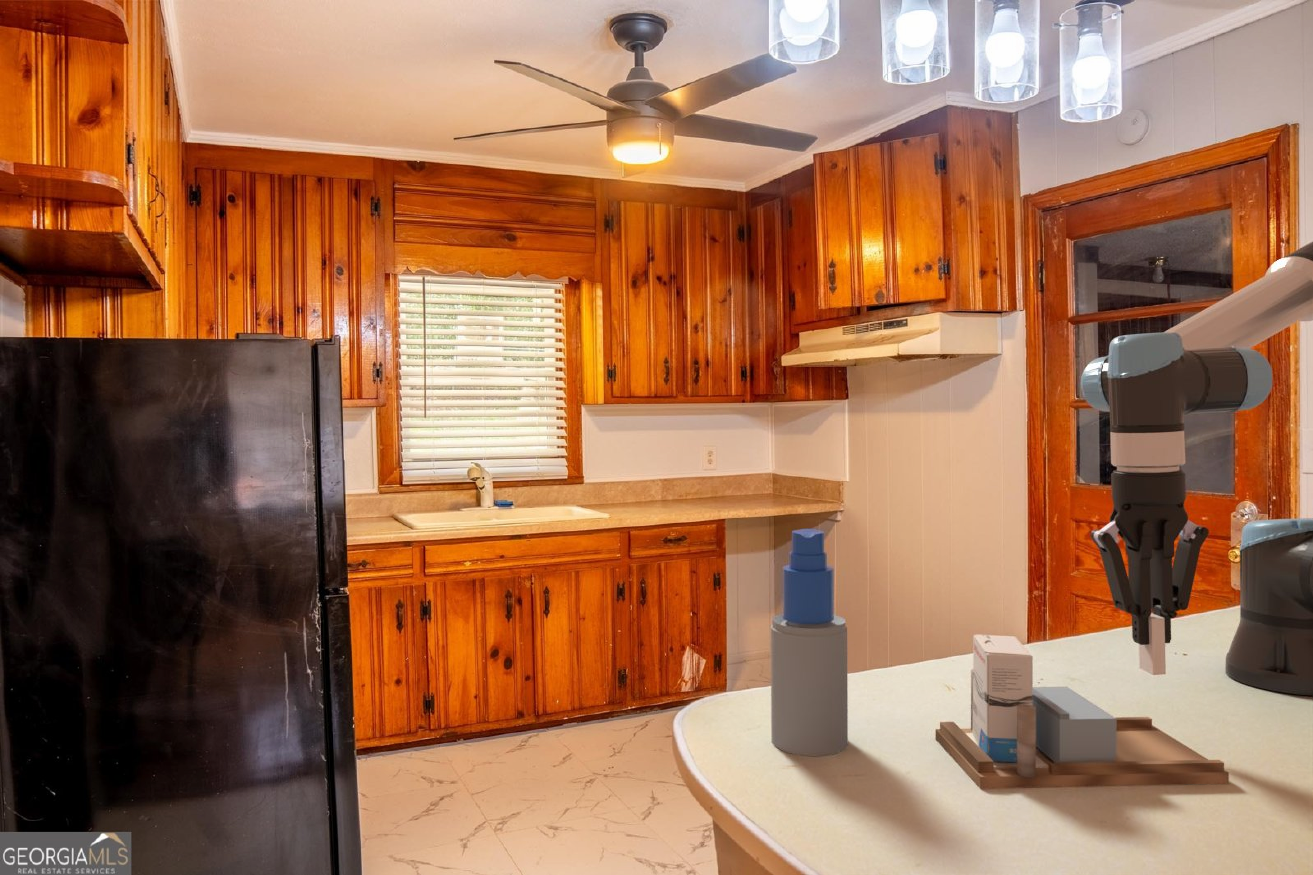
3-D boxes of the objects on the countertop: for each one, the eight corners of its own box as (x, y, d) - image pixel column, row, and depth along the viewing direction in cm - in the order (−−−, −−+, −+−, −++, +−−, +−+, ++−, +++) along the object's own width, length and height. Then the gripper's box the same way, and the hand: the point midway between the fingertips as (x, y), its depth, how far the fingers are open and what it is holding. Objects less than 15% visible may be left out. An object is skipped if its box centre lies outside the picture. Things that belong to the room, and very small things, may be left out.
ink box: (1034, 764, 96) (1034, 654, 96) (985, 762, 97) (985, 652, 97) (1016, 736, 105) (1016, 634, 105) (971, 734, 106) (971, 633, 105)
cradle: (1150, 733, 109) (1150, 665, 109) (1231, 785, 94) (1231, 706, 94) (934, 737, 108) (934, 669, 108) (981, 790, 94) (981, 711, 93)
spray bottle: (779, 725, 113) (778, 524, 112) (852, 732, 110) (851, 527, 110) (764, 751, 105) (762, 534, 104) (842, 760, 102) (841, 537, 101)
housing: (1066, 728, 107) (1066, 681, 107) (1116, 765, 96) (1116, 712, 96) (1015, 729, 107) (1016, 682, 106) (1059, 766, 96) (1059, 713, 95)
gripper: (1182, 463, 109) (1186, 658, 110) (1075, 468, 108) (1081, 665, 109) (1224, 467, 101) (1228, 677, 102) (1109, 474, 101) (1115, 684, 102)
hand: (1152, 670), depth 106 cm, fingers closed
